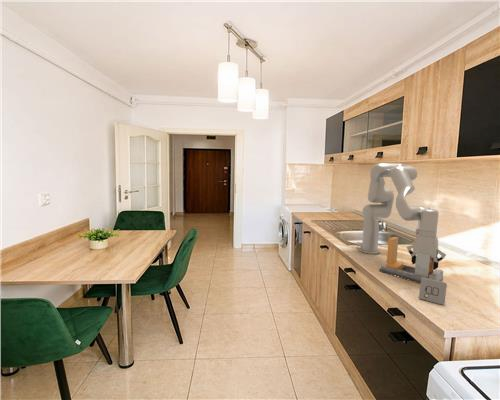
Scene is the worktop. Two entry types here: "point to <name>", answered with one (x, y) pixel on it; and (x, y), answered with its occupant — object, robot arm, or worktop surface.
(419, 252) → the robot arm
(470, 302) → the worktop surface
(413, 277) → the din rail
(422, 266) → the small box
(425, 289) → the electrical switch
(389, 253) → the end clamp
